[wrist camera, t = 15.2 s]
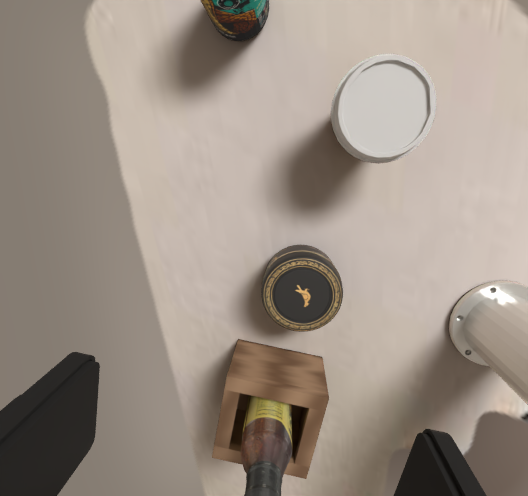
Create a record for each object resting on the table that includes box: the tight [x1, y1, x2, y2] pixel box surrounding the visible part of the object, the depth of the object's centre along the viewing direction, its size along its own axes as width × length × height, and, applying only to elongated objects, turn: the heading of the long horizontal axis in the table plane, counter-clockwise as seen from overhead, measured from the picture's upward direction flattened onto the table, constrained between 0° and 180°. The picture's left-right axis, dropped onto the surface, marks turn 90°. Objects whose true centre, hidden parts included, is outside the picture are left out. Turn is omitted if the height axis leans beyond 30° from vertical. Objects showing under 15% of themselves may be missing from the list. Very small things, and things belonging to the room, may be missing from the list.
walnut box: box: [212, 339, 329, 479], centre depth 46 cm, size 13×13×9 cm
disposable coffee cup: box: [331, 54, 436, 163], centre depth 35 cm, size 10×10×12 cm
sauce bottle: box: [241, 395, 292, 496], centre depth 41 cm, size 6×6×20 cm
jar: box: [261, 245, 343, 331], centre depth 42 cm, size 10×10×8 cm
